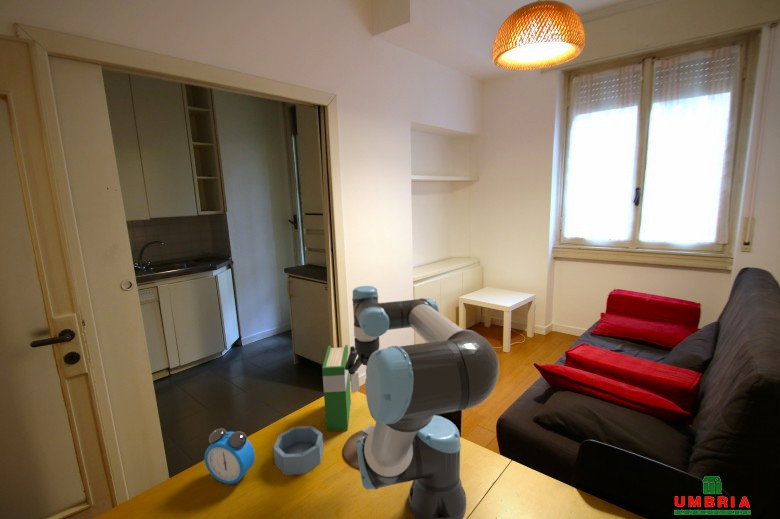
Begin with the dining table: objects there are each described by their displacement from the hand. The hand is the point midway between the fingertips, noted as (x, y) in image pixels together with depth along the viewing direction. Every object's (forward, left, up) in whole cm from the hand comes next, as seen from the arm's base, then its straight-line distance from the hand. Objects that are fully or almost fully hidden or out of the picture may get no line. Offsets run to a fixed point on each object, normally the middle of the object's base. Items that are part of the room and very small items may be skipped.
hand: (369, 399), depth 115 cm
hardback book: (+22, -4, -18) cm, 28 cm away
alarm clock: (+22, +36, -18) cm, 46 cm away
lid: (0, 0, -18) cm, 18 cm away
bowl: (+14, +18, -18) cm, 29 cm away
